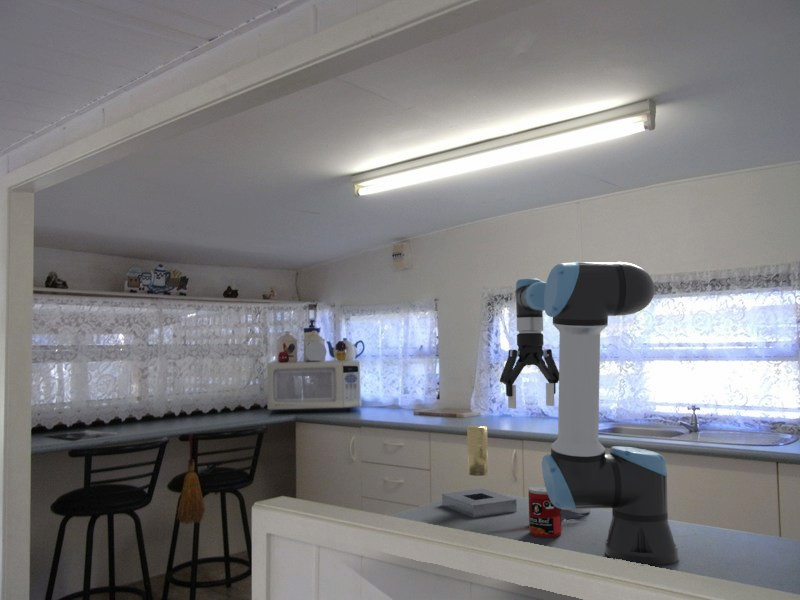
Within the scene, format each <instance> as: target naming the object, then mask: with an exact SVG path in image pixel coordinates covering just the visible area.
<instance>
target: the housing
mask: <svg viewBox="0 0 800 600" xmlns="http://www.w3.org/2000/svg"><path fill="white" fill-rule="evenodd" d="M441 506H442V507H445V508H447V509H450V510H453V511H455V512H457V513H459V514H462V515H465V516H468V517H470V518H471V519H476V518H482V517H489V516H496V515H497V516H498V515H503V514H511V513H516V512H518V511H517V509H518V508H517V507H518V506H517V499H516V498H513V497H510V496H507V495H503V494H500V493H497V492H494V491H491V490H488V489H485V488H479V489H470V490H463V491H455V492H454V491H453V492H447V493H441Z"/></svg>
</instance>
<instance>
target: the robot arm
mask: <svg viewBox="0 0 800 600" xmlns="http://www.w3.org/2000/svg"><path fill="white" fill-rule="evenodd" d="M514 293H515V305H516V306H515V308H516V309H515V311H516V331H517V332H518V333H517V334H516V345H517V348H518V349H509V350H508V353H507V354H508V355H507V360H506V362H505V364H504V368H503V369H502V373H501V375H500V378H499V383H502V384H503V385H505V395H506V397H507V403H508V404H507V407H508V409H512V410H513V409H514V410H515V409H517V385H516V384H514V383H515V382H516V380H517V379H518V377H519V375H520V374H521V372H522V370H523V369H524V368H525V367H526V366H535V367H537V368H538V369H539V371H540V372H541V374H542V375H543V377H544V378H545V379H546V382H545V400H546V401H545V406H547V407H555V394H556V393H557V389H556V388H557V386H556V384H558V420H557V421H558V422H557V423H558V425H557V426H558V427H557V428H558V430H557V431H558V432H557V433H558V434H557V439H556V440H555V441H554V442H552V443H551V445H550V453H547V454H545V455H543V457H542V461H541V467H542V477H543V482H544V483H543V484H544V485H545V487H546V491H547V494H548V497H549V499H550V501H551V502H552V504H553V505H554V506H555V507H557V508H562V509H561V510H563V509H573V510H575V509H590V510H591V509H612V511H611V513H612V516H611V521H610V526H609V529H608V534H607V537H606V539H605V543H604V549H605V550H604V551H605V555H606V556H608V557H609V558H610V557H612V558H616V559H622V560H626V561H630V562H636V563H641V564H648V565H654V566H653V567H655V566H656V567H660V566H661V567H662V566H668V565H671V564H674V563H676V562H677V561H678V559H679V550H678V546H677V543H675V541H674V536H673V533H672V530H671V529H672V528H671V526H670V523H669V513H668V509H669V507H668V504H669V503H668V476H669V475H668V473H667V465H666V463H667V462H666V459H665V457H664V456H663V455H662V454H660V453H658V452H655V451H652V450H647V449H643V448H642V449H641V448H637V447H630V446H618V445H617V446H616V445H615V446H614V445H613V446H611V447H610V449H609V453H606V447H604V445H603V444H602V443H601V442H600V441H599V428H600V427H599V422H600V421H599V419H600V418H599V417H600V413H599V412H600V373H601V372H600V370H601V369H600V368H601V367H600V365H601V363H600V362H601V357H600V356H601V333H602V331H604V330H605V329H606V328H607V327H608V323H609V317H616V316H619V317H620V316H628V315H629V316H630V315H632V314H636V313H638V312H640V311H642V310H644V309H646V308H647V307H648V306H649V304H650V303H651V302H652V301H653V298H654V294H655V284H654V281H653V278H652V277H651V275H650V273H649V272H647V271H646V270H645V269H644V268H642V267H640V266H638V265H636V264H633V263H630V262H622V261H616V262H610V261H609V262H603V261H602V262H600V261H599V262H595V261H594V262H589V261H588V262H584V261H583V262H581V261H579V262H578V261H573V262H561V263H557V264H555V265H554V266H553V267H552V268H551V270H550V271H549V274H548V276H547V280H546V281H542V280H541V278H540V279H539V278H520V279H517V280H516V282H515V290H514ZM544 312H545V314H546V315H547V316H548V317H550V318H552V325H553V326H554V327H555V328H556V329H557V330H558V332H559V346H558V347H559V348H558V349H559V351H558V355H559V356H558V358H559V360H558V367H557V365H556V364H557V363H556V362H555V360H554V358H553V351H552V349H550V348H543V346H544V334H543V333H542V332H544V315H543V313H544ZM517 358H518V359H517ZM612 558H611V559H612Z"/></svg>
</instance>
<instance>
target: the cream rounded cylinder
mask: <svg viewBox="0 0 800 600" xmlns="http://www.w3.org/2000/svg"><path fill="white" fill-rule="evenodd" d="M466 431H467V432H466V433H467V434H466V435H467V436H466V438H467V475H469V476H476V477H479V476H480V477H481V476H487V475H489V453H488V452H489V449H488V447H489V446H488V442H489V441H488V426H486V425H468V426H467V427H466Z"/></svg>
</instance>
